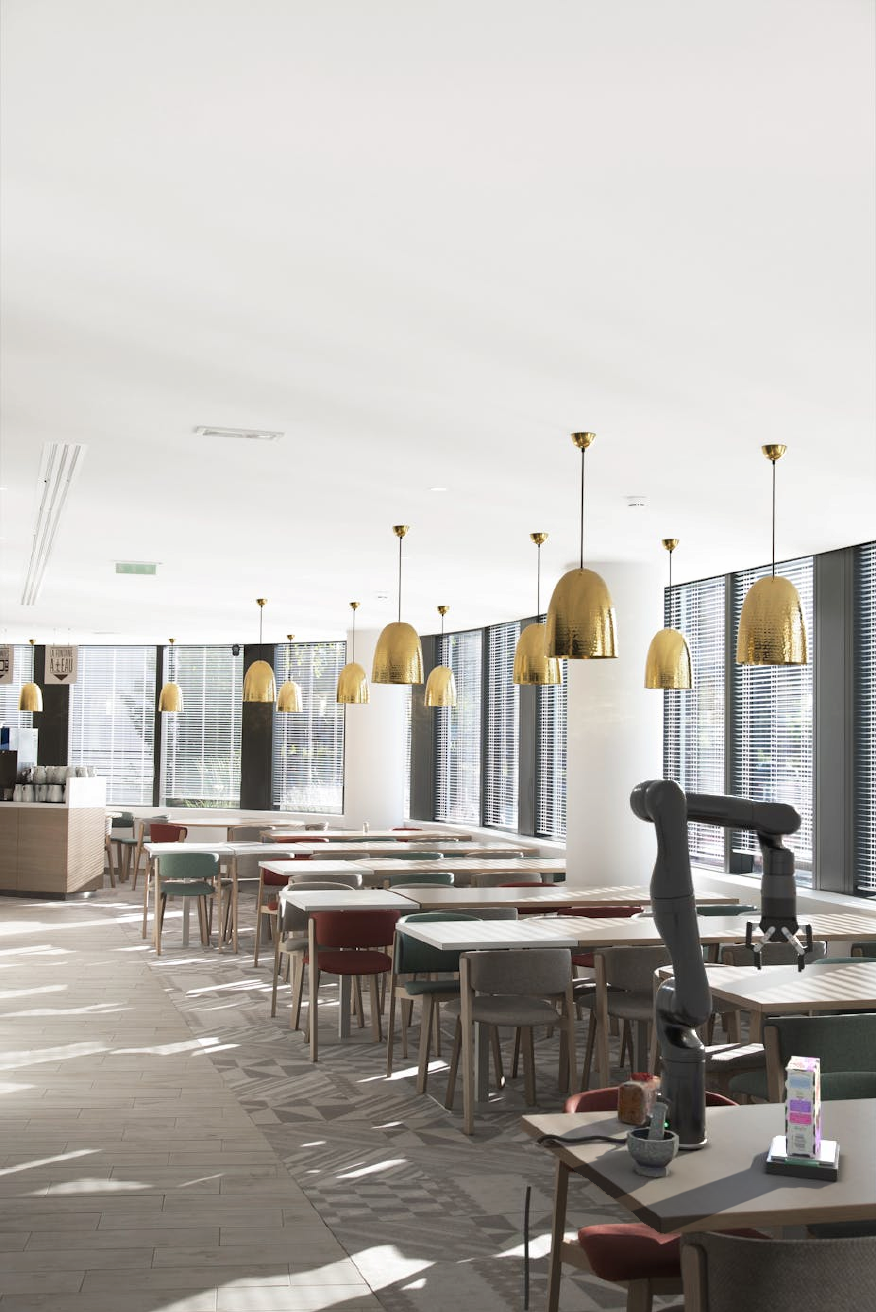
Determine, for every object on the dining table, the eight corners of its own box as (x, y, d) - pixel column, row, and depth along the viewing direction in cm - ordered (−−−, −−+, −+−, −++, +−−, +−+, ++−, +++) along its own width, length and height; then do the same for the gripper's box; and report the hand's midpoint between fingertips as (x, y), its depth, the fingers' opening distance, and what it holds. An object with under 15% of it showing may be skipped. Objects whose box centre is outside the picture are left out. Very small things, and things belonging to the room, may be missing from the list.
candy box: (816, 1159, 241) (815, 1070, 243) (784, 1155, 243) (783, 1067, 245) (822, 1141, 254) (821, 1057, 256) (791, 1137, 256) (791, 1054, 258)
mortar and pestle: (669, 1182, 234) (669, 1115, 235) (620, 1174, 238) (621, 1109, 239) (685, 1167, 244) (685, 1103, 245) (638, 1159, 248) (639, 1097, 249)
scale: (837, 1181, 237) (837, 1165, 237) (766, 1173, 241) (766, 1158, 241) (839, 1155, 254) (839, 1141, 254) (773, 1148, 258) (773, 1134, 258)
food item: (637, 1109, 288) (637, 1064, 289) (670, 1114, 284) (670, 1069, 285) (614, 1121, 277) (614, 1075, 278) (648, 1127, 272) (648, 1080, 274)
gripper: (813, 895, 276) (814, 970, 275) (746, 892, 281) (747, 966, 279) (811, 897, 269) (812, 975, 268) (743, 894, 274) (744, 970, 272)
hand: (779, 970), depth 273 cm, fingers open, 8 cm apart
